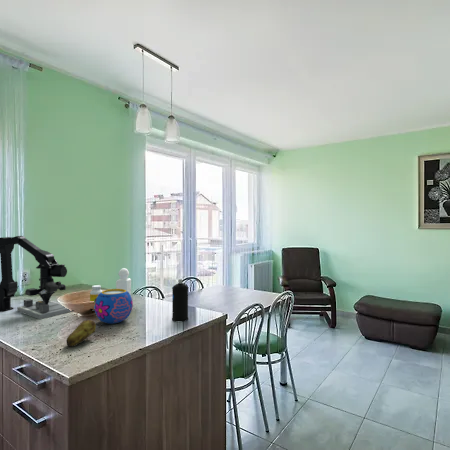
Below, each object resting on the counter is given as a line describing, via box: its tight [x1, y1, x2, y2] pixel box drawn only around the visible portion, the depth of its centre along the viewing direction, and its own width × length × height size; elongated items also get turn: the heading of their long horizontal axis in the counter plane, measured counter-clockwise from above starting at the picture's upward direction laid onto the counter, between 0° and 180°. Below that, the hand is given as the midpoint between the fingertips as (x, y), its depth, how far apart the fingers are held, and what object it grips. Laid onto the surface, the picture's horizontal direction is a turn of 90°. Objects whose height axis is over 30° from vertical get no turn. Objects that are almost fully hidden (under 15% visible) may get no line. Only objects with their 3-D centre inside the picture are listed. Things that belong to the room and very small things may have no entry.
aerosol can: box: [171, 278, 190, 322], centre depth 155 cm, size 8×8×20 cm
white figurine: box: [115, 267, 132, 296], centre depth 178 cm, size 6×6×22 cm
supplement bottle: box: [89, 284, 103, 302], centre depth 173 cm, size 7×7×13 cm
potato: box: [66, 319, 97, 348], centre depth 125 cm, size 8×13×8 cm, turn 142°
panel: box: [16, 298, 71, 320], centre depth 169 cm, size 25×18×6 cm
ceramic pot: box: [94, 288, 134, 325], centre depth 151 cm, size 18×18×15 cm
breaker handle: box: [35, 300, 45, 309], centre depth 166 cm, size 4×3×3 cm
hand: (46, 305), depth 169 cm, fingers closed
